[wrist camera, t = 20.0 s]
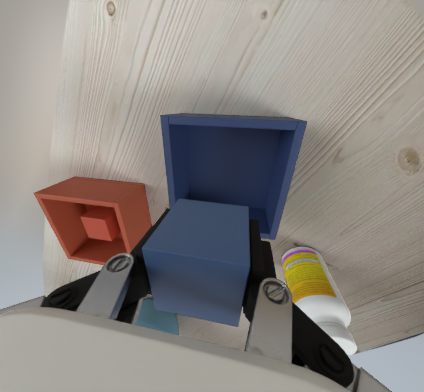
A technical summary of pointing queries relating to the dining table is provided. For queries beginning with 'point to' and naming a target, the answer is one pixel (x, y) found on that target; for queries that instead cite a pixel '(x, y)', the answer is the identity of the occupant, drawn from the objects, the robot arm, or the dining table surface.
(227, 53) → the dining table surface
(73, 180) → the red bin
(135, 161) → the dining table surface
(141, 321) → the vase
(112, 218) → the red block
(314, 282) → the supplement bottle
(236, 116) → the blue bin
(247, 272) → the blue block
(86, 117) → the dining table surface
